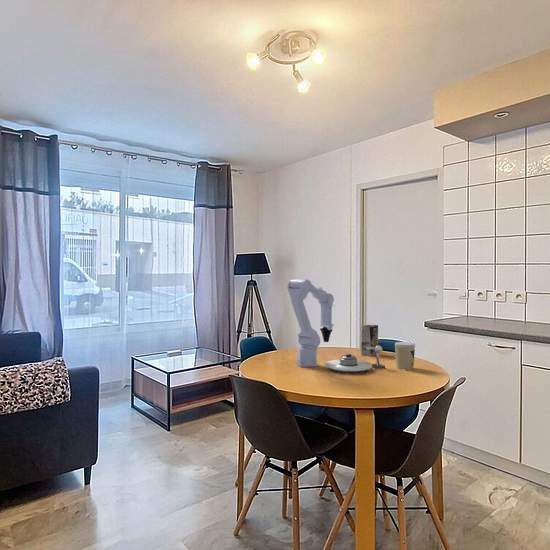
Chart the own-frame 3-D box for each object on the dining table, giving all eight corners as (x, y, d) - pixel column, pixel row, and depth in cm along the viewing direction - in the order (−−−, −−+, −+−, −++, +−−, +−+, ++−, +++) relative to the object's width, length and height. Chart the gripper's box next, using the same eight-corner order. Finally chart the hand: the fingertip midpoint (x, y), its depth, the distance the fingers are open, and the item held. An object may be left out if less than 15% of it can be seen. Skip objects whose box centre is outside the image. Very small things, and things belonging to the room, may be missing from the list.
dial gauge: (368, 369, 202) (368, 346, 202) (364, 366, 207) (364, 344, 207) (385, 368, 203) (385, 345, 203) (380, 366, 208) (380, 344, 208)
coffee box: (371, 356, 231) (371, 326, 231) (360, 355, 235) (360, 326, 235) (378, 353, 238) (378, 325, 238) (367, 352, 242) (367, 324, 242)
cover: (343, 366, 197) (343, 356, 197) (337, 363, 205) (337, 353, 205) (359, 366, 199) (359, 355, 199) (353, 362, 207) (353, 352, 206)
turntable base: (336, 374, 192) (336, 371, 192) (324, 365, 210) (324, 362, 210) (374, 372, 195) (374, 369, 195) (359, 363, 213) (359, 360, 213)
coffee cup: (416, 370, 198) (416, 345, 198) (395, 370, 200) (395, 344, 200) (413, 366, 207) (413, 341, 207) (394, 365, 209) (394, 341, 209)
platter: (334, 372, 190) (334, 370, 190) (319, 361, 211) (319, 360, 211) (380, 369, 194) (380, 368, 194) (361, 359, 215) (361, 358, 215)
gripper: (338, 317, 217) (338, 343, 217) (329, 314, 231) (329, 339, 231) (324, 317, 215) (324, 344, 215) (316, 314, 229) (316, 339, 230)
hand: (326, 341), depth 223 cm, fingers closed
